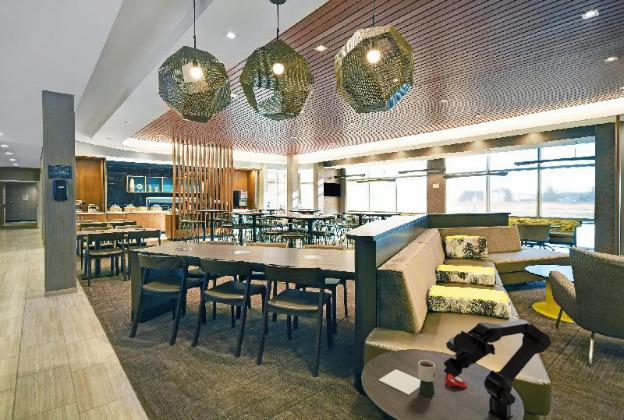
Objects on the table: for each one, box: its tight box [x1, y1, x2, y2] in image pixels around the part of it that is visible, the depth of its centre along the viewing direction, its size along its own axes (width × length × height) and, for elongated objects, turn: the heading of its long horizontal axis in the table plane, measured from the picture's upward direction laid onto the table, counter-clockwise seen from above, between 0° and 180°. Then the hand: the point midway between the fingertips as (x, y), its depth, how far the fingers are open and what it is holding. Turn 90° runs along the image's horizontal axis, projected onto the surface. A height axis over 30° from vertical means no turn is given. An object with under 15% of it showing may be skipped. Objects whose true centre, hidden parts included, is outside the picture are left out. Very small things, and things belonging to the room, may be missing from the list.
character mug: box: [417, 359, 436, 397], centre depth 141 cm, size 11×7×13 cm, turn 170°
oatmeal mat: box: [378, 369, 421, 396], centre depth 151 cm, size 16×14×1 cm
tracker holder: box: [444, 373, 468, 389], centre depth 149 cm, size 12×4×10 cm
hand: (446, 370), depth 134 cm, fingers open, 4 cm apart
